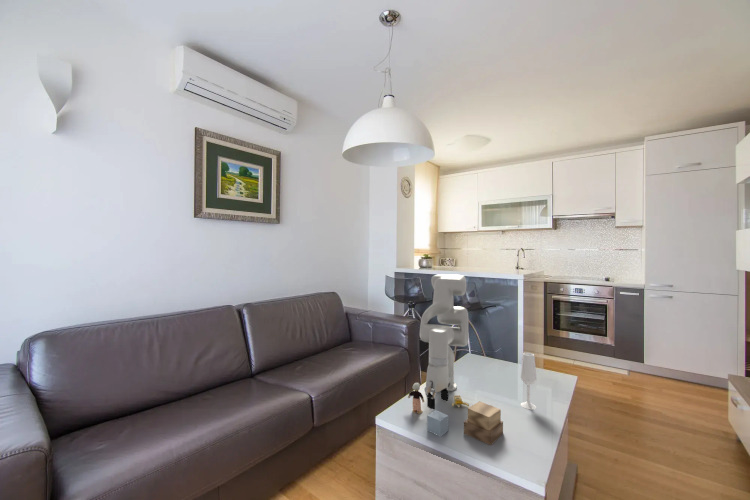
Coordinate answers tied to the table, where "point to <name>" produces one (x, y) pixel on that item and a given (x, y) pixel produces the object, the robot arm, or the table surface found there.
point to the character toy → (458, 401)
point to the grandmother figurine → (416, 398)
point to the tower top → (484, 415)
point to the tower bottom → (483, 432)
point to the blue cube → (437, 422)
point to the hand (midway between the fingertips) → (437, 404)
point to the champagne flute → (528, 376)
